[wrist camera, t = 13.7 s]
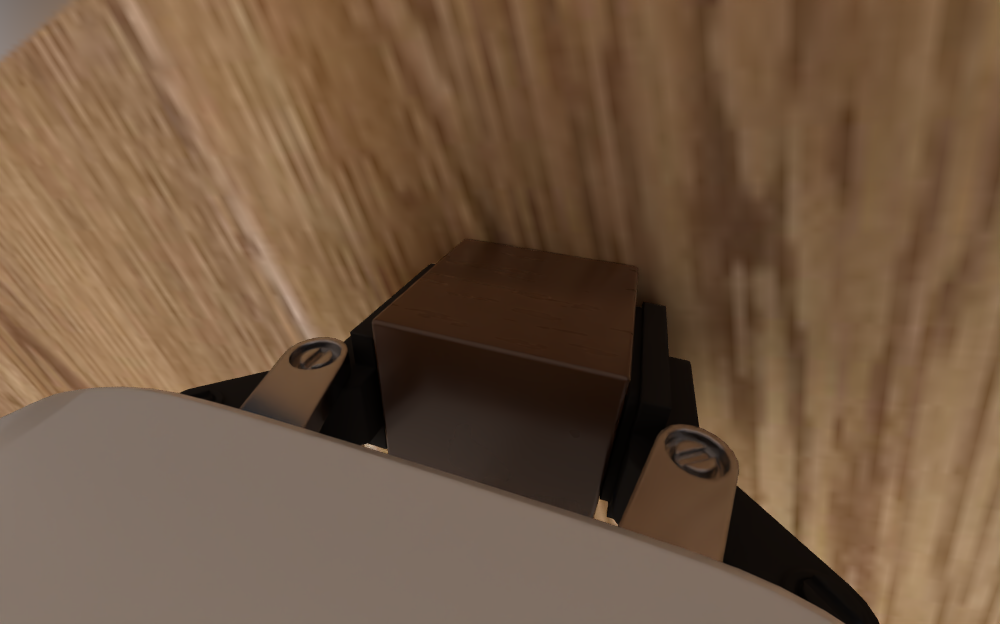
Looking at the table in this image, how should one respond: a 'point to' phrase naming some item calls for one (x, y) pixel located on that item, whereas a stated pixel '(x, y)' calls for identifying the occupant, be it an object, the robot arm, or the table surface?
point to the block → (510, 369)
